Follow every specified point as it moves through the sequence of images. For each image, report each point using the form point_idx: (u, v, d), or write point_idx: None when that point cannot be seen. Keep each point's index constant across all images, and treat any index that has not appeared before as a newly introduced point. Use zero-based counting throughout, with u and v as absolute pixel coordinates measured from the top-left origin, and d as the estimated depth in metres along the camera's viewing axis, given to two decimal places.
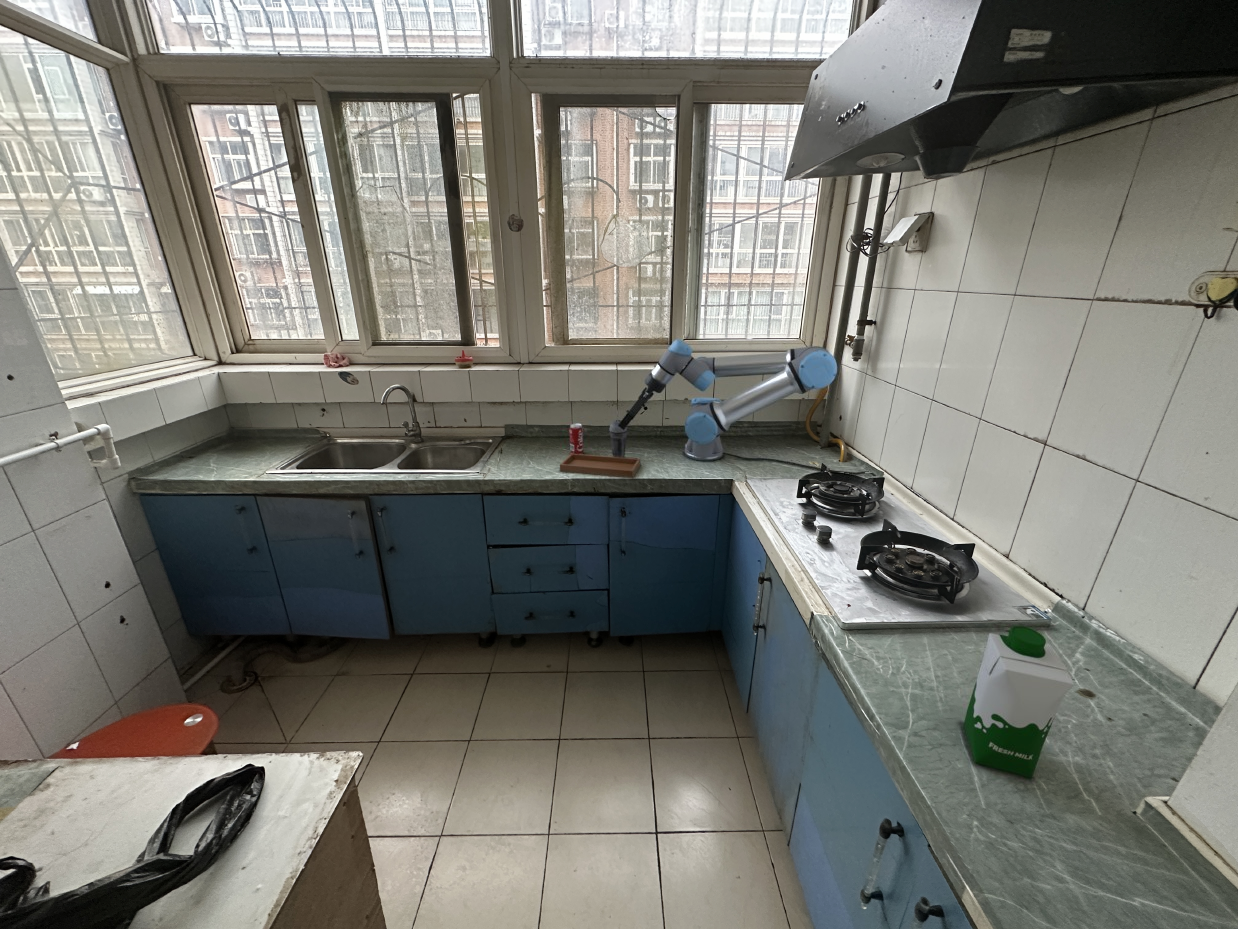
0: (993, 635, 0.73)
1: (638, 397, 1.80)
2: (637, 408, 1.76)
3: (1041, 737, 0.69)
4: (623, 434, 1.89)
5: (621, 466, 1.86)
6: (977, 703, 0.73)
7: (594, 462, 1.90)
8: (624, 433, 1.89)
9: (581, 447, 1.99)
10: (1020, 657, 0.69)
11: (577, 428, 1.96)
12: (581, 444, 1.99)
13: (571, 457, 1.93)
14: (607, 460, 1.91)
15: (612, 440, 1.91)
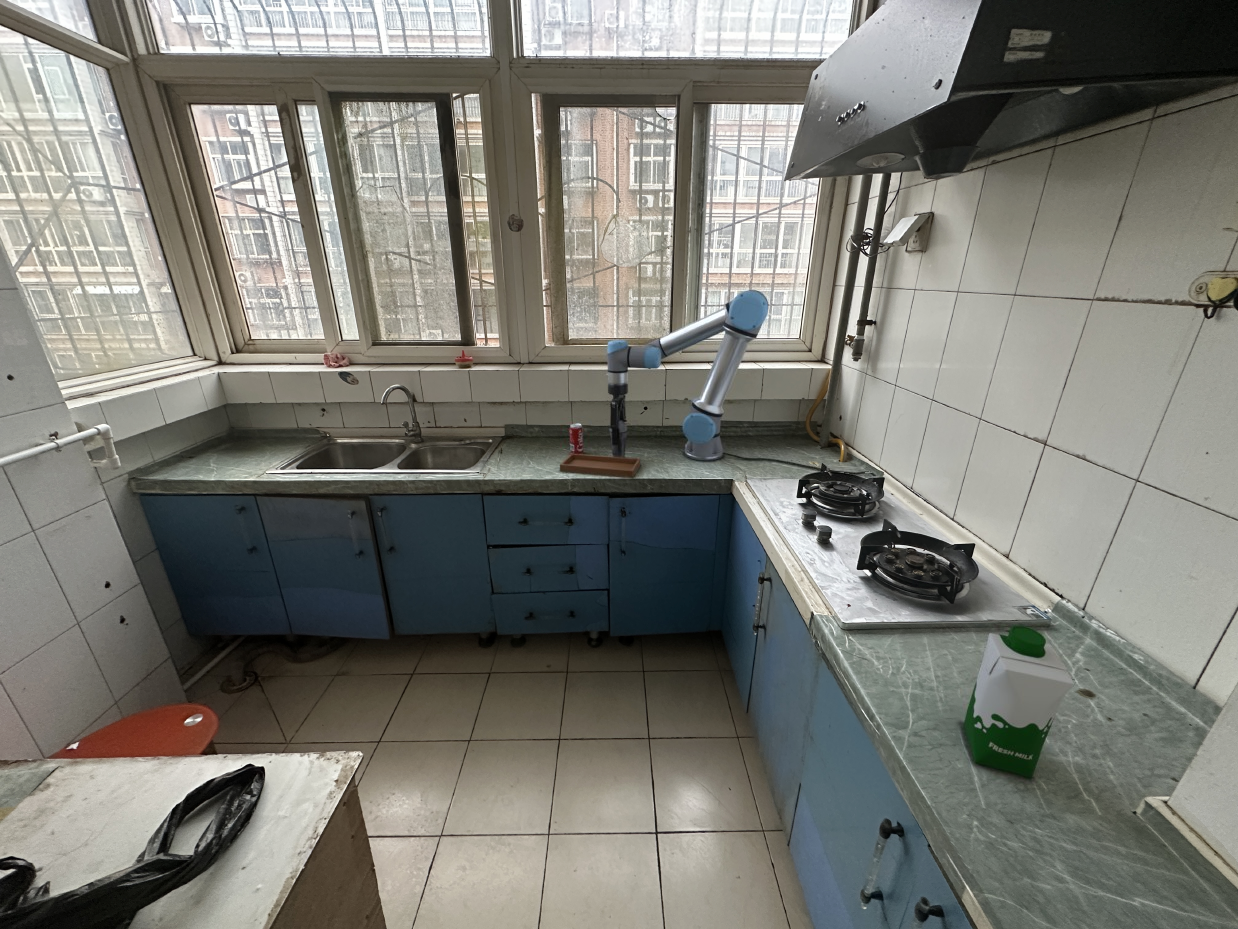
0: (993, 635, 0.73)
1: None
2: (615, 420, 1.83)
3: (1041, 737, 0.69)
4: (623, 434, 1.89)
5: (621, 466, 1.86)
6: (977, 703, 0.73)
7: (594, 462, 1.90)
8: (624, 433, 1.89)
9: (581, 447, 1.99)
10: (1020, 657, 0.69)
11: (577, 428, 1.96)
12: (581, 444, 1.99)
13: (571, 457, 1.93)
14: (607, 460, 1.91)
15: None
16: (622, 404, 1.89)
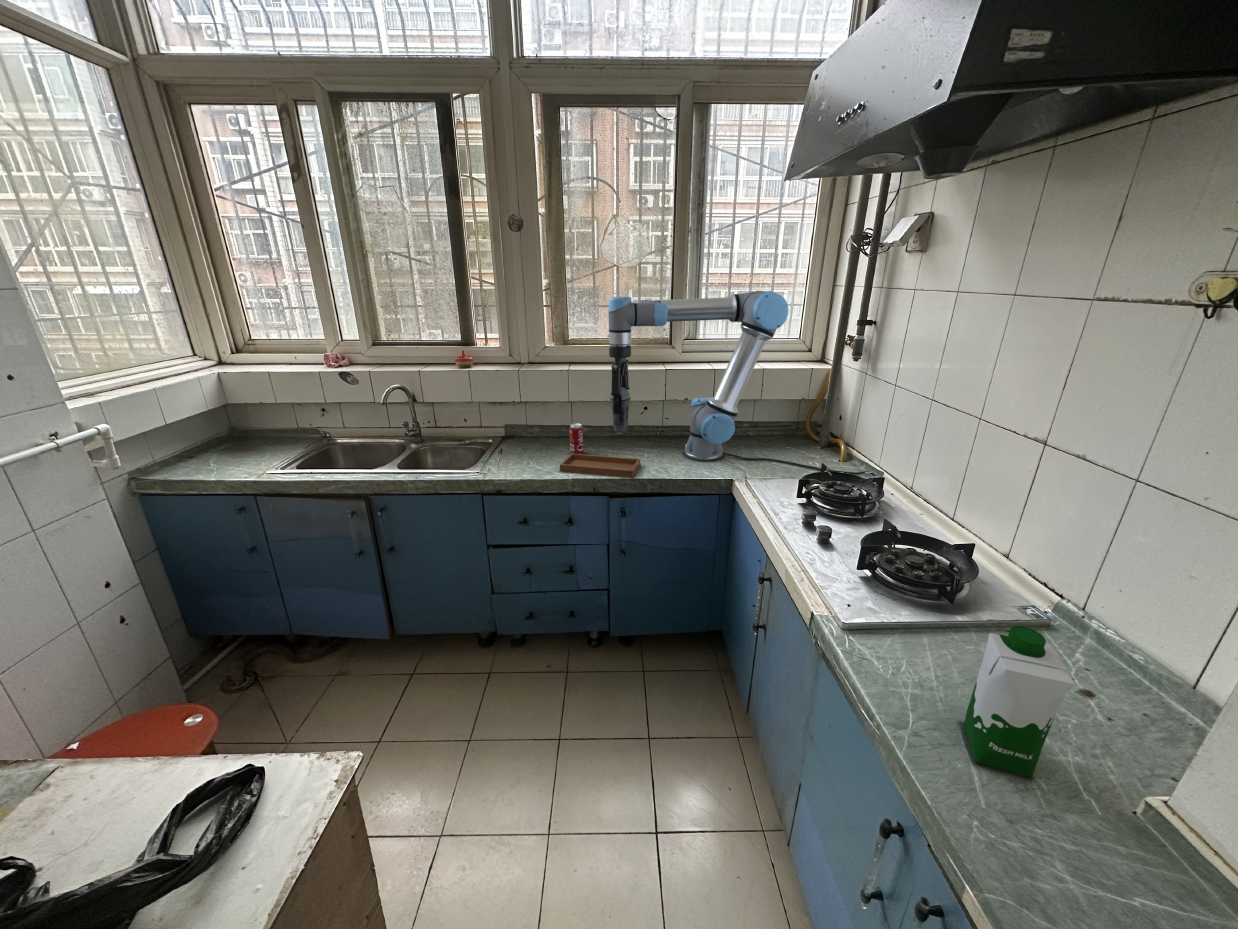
0: (993, 635, 0.73)
1: None
2: (616, 385, 1.66)
3: (1041, 737, 0.69)
4: (625, 402, 1.72)
5: (621, 466, 1.86)
6: (977, 703, 0.73)
7: (594, 462, 1.90)
8: (626, 401, 1.72)
9: (581, 447, 1.99)
10: (1020, 657, 0.69)
11: (577, 428, 1.96)
12: (581, 444, 1.99)
13: (571, 457, 1.93)
14: (607, 460, 1.91)
15: (613, 409, 1.74)
16: (624, 369, 1.72)
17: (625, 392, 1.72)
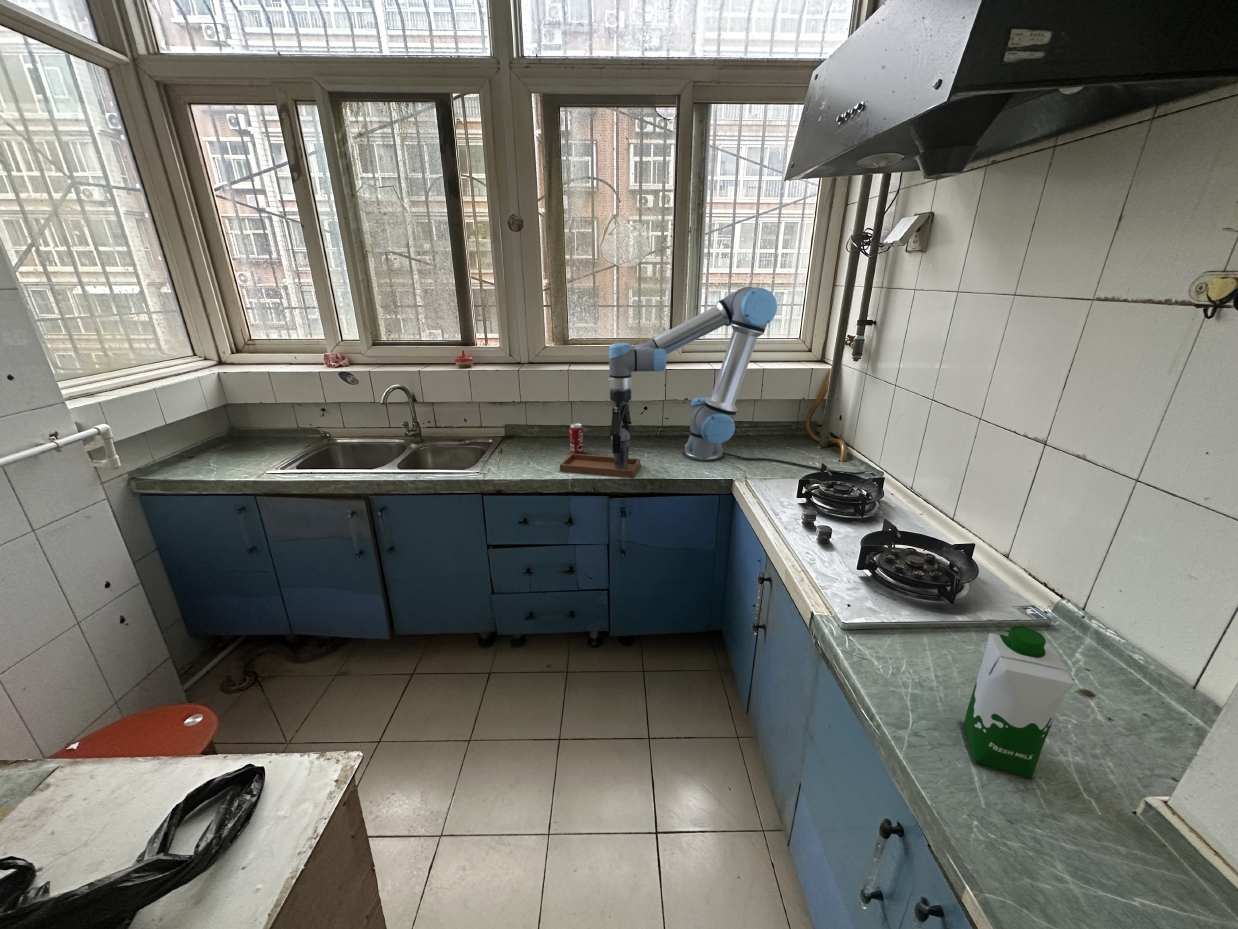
0: (993, 635, 0.73)
1: None
2: (616, 426, 1.69)
3: (1041, 737, 0.69)
4: (626, 443, 1.78)
5: None
6: (977, 703, 0.73)
7: (594, 462, 1.90)
8: (627, 442, 1.78)
9: (581, 447, 1.99)
10: (1020, 657, 0.69)
11: (577, 428, 1.96)
12: (581, 444, 1.99)
13: (571, 457, 1.93)
14: (607, 460, 1.91)
15: None
16: (625, 410, 1.78)
17: (625, 433, 1.77)
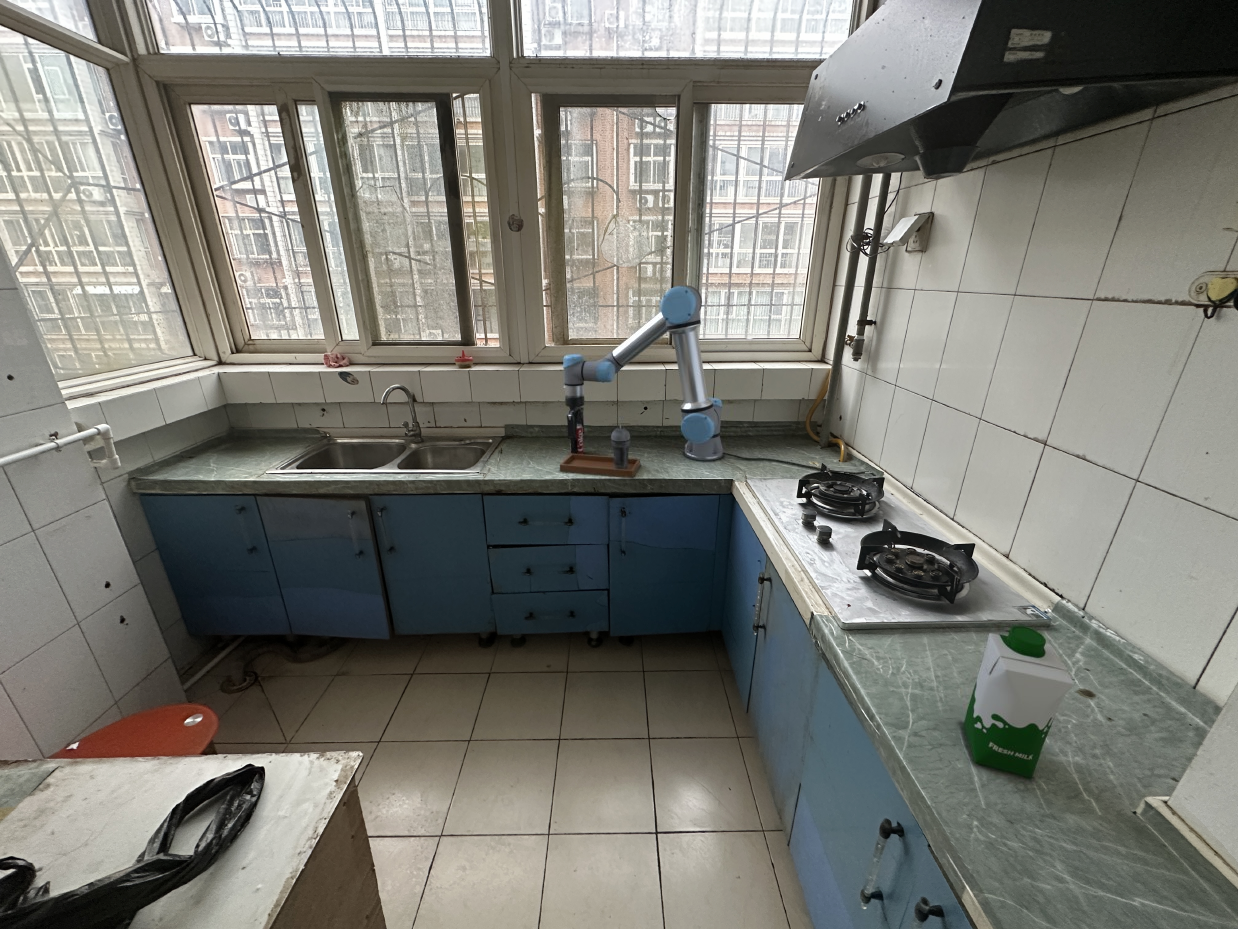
0: (993, 635, 0.73)
1: None
2: (572, 431, 1.92)
3: (1041, 737, 0.69)
4: (626, 443, 1.78)
5: None
6: (977, 703, 0.73)
7: (594, 462, 1.90)
8: (627, 442, 1.78)
9: (581, 447, 1.99)
10: (1020, 657, 0.69)
11: (577, 428, 1.96)
12: (581, 444, 1.99)
13: (571, 457, 1.93)
14: (607, 460, 1.91)
15: (614, 449, 1.80)
16: (579, 415, 1.97)
17: (625, 433, 1.77)
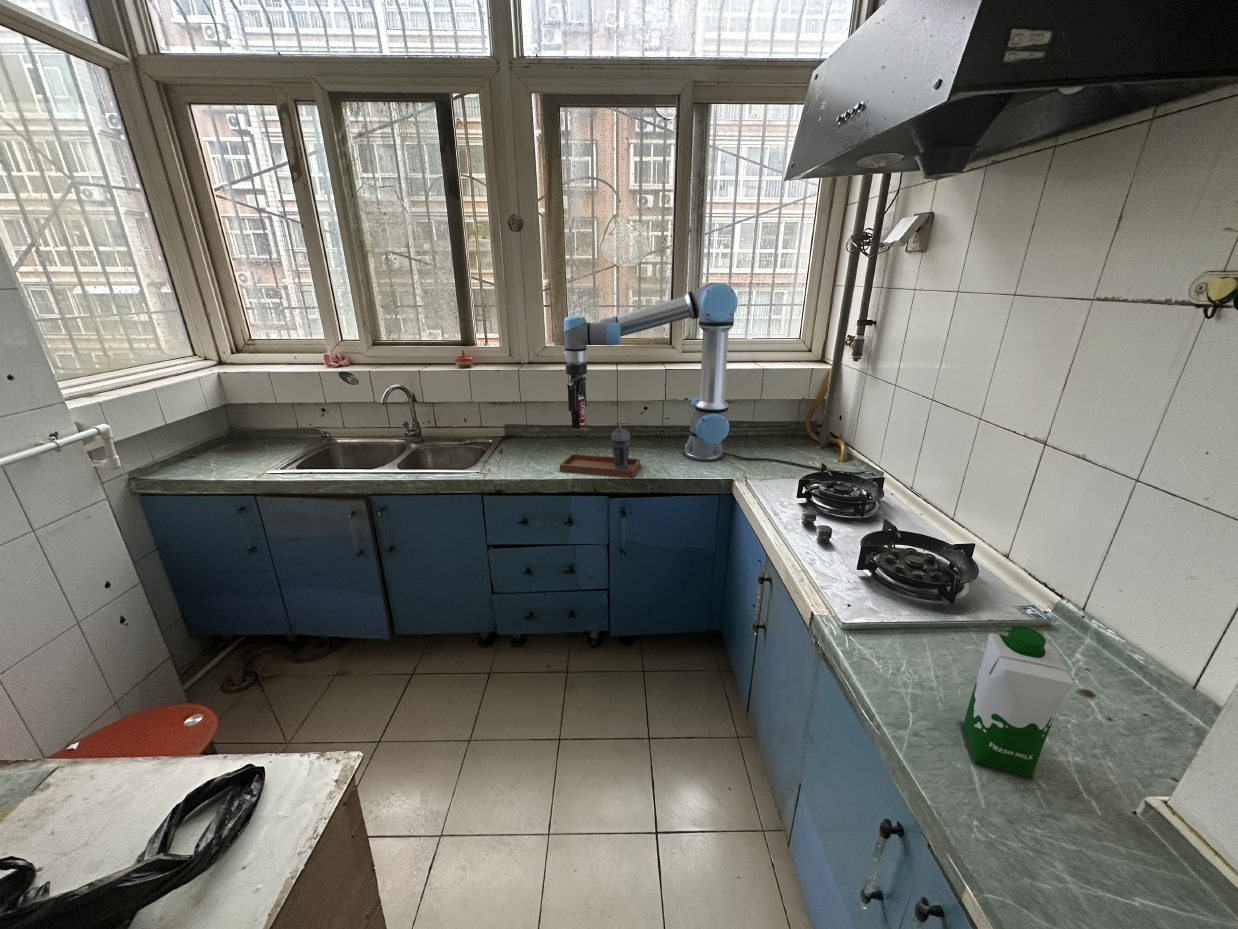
0: (993, 635, 0.73)
1: None
2: (573, 402, 1.73)
3: (1041, 737, 0.69)
4: (626, 443, 1.78)
5: None
6: (977, 703, 0.73)
7: (594, 462, 1.90)
8: (627, 442, 1.78)
9: (583, 420, 1.80)
10: (1020, 657, 0.69)
11: (579, 399, 1.77)
12: (583, 417, 1.80)
13: (571, 457, 1.93)
14: (607, 460, 1.91)
15: (614, 449, 1.80)
16: (581, 385, 1.78)
17: (625, 433, 1.77)
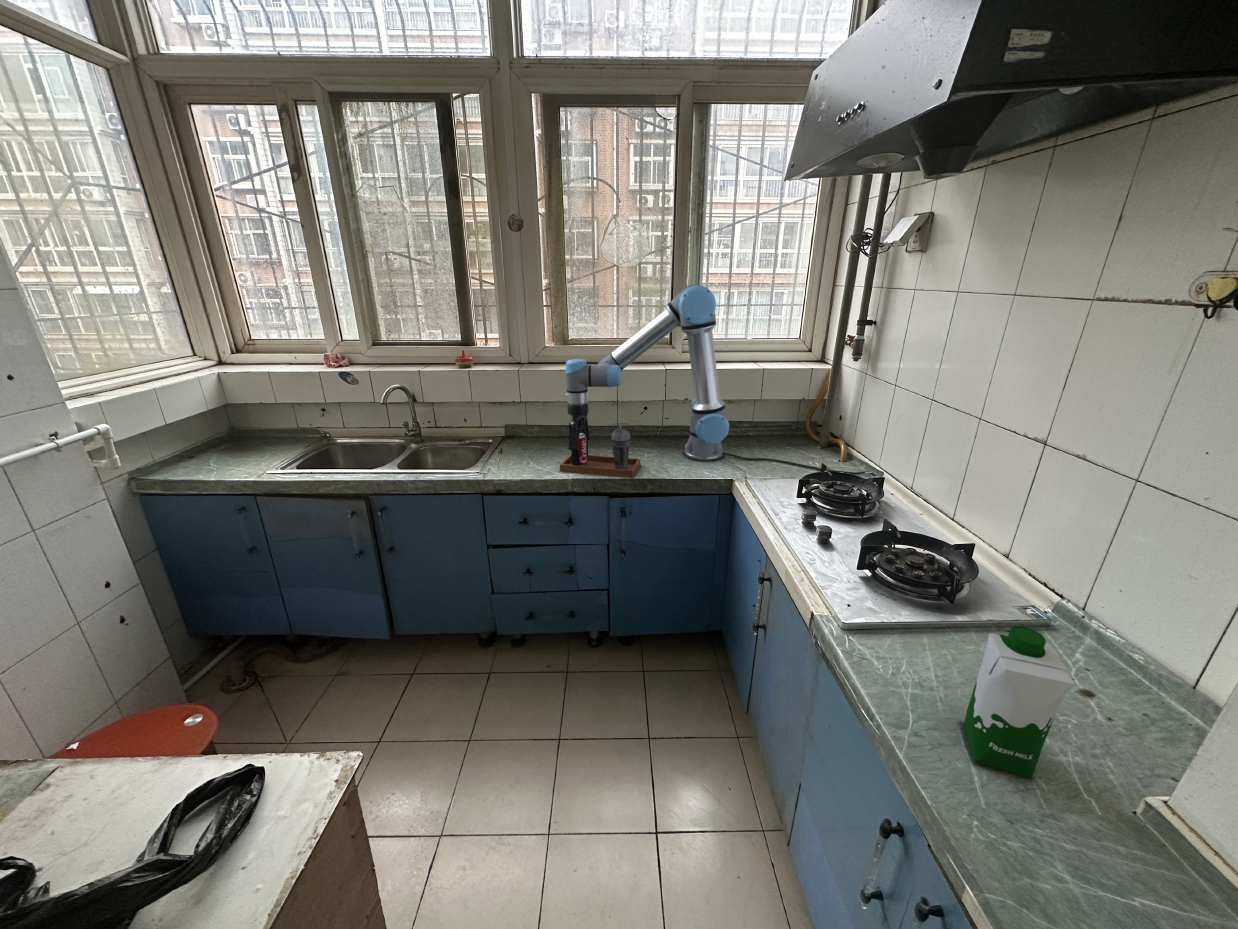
0: (993, 635, 0.73)
1: None
2: (573, 440, 1.77)
3: (1041, 737, 0.69)
4: (626, 443, 1.78)
5: None
6: (977, 703, 0.73)
7: (594, 462, 1.90)
8: (627, 442, 1.78)
9: (584, 458, 1.85)
10: (1020, 657, 0.69)
11: (580, 438, 1.82)
12: (584, 455, 1.85)
13: (571, 457, 1.93)
14: (607, 460, 1.91)
15: (614, 449, 1.80)
16: (583, 424, 1.84)
17: (625, 433, 1.77)
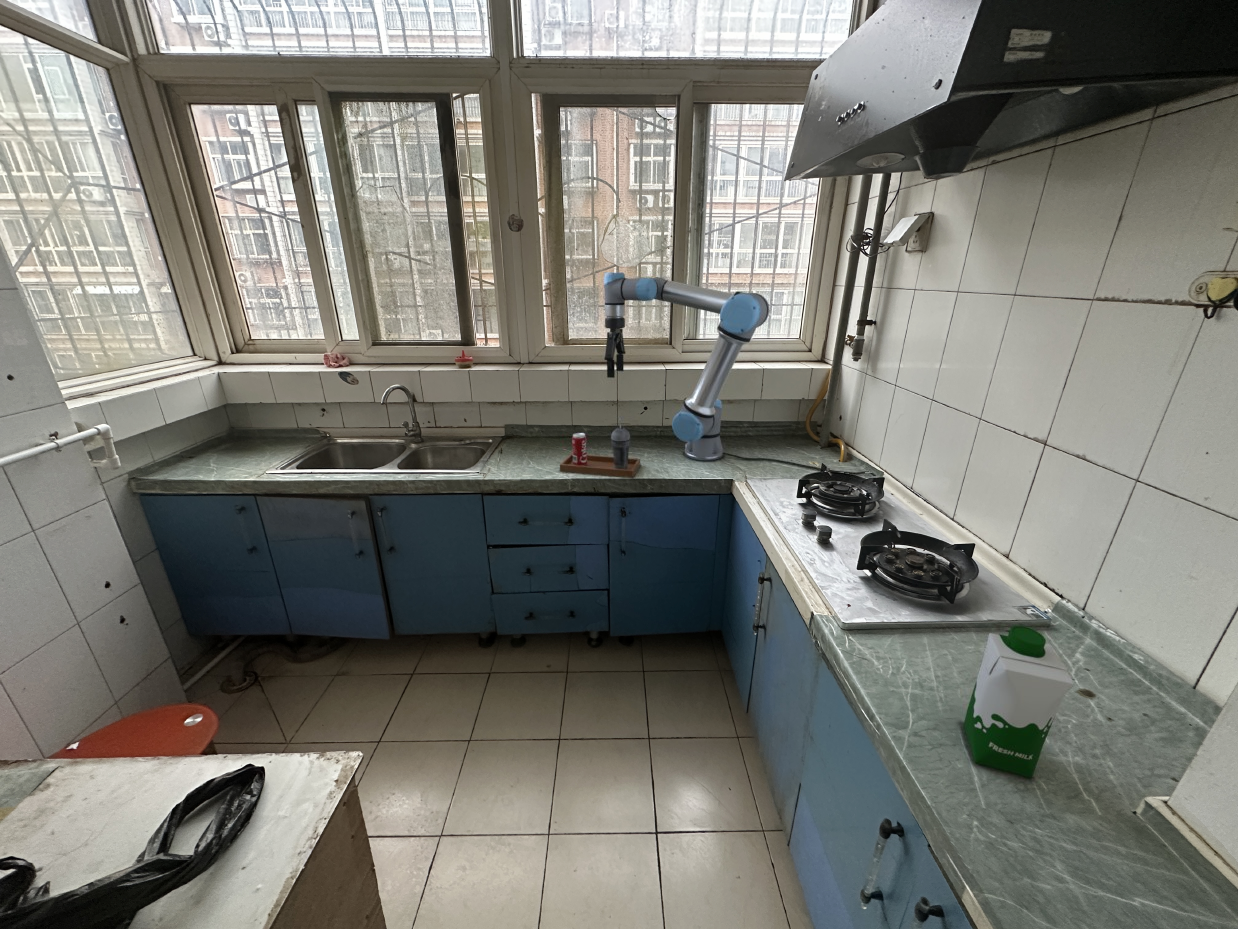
0: (993, 635, 0.73)
1: None
2: (610, 349, 1.80)
3: (1041, 737, 0.69)
4: (626, 443, 1.78)
5: None
6: (977, 703, 0.73)
7: (594, 462, 1.90)
8: (627, 442, 1.78)
9: (584, 458, 1.85)
10: (1020, 657, 0.69)
11: (580, 438, 1.82)
12: (584, 455, 1.85)
13: (571, 457, 1.93)
14: (607, 460, 1.91)
15: (614, 449, 1.80)
16: (619, 339, 1.89)
17: (625, 433, 1.77)
